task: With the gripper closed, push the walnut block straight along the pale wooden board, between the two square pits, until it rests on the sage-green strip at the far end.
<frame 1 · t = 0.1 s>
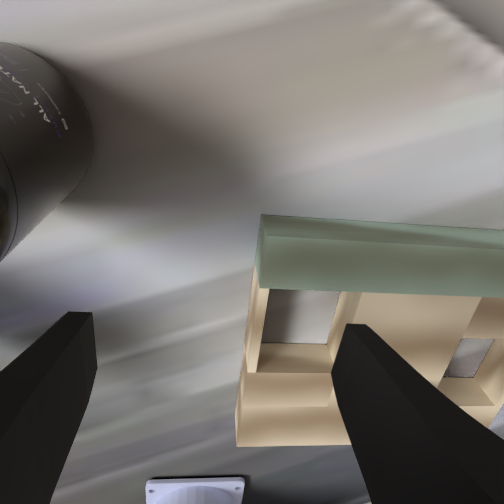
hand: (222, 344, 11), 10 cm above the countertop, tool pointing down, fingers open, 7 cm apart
trap board: (380, 333, 25), on the countertop
supplement bottle: (18, 124, 17), on the countertop
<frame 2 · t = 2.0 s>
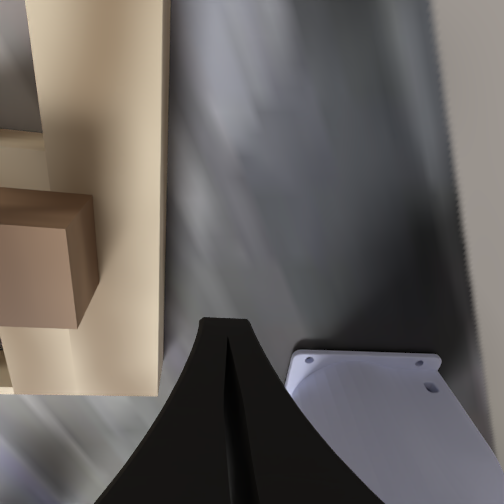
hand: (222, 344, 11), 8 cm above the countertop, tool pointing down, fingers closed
walnut block: (43, 237, 15), point 2 cm above the countertop, touching trap board
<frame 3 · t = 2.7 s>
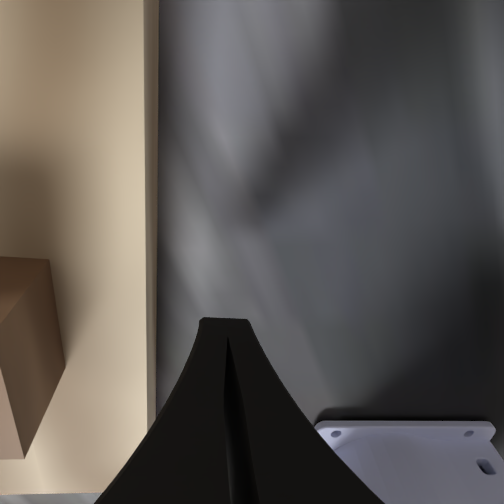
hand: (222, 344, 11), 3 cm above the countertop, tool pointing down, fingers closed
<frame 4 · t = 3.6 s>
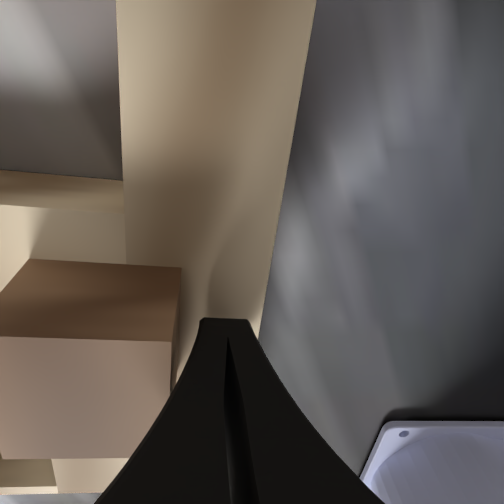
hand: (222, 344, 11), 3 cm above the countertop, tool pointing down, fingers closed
walnut block: (111, 320, 11), point 2 cm above the countertop, touching gripper, trap board
trap board: (22, 269, 13), on the countertop
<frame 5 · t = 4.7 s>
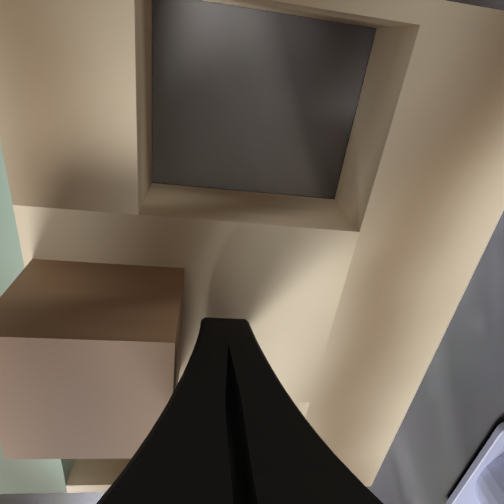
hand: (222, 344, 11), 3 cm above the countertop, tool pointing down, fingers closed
walnut block: (113, 321, 11), point 3 cm above the countertop, touching gripper
trap board: (207, 279, 14), on the countertop
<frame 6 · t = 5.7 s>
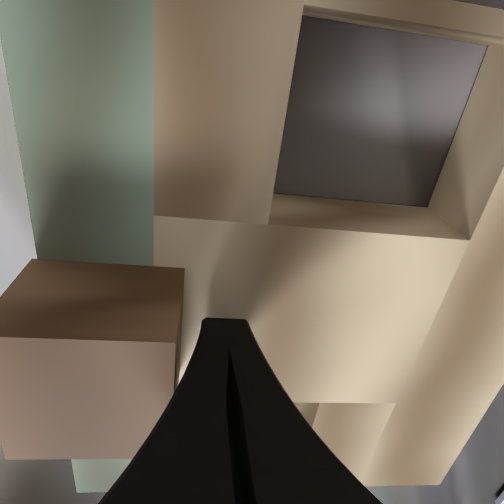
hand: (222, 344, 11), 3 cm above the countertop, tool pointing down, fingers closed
walnut block: (113, 320, 11), point 2 cm above the countertop, touching gripper, trap board
trap board: (297, 284, 14), on the countertop
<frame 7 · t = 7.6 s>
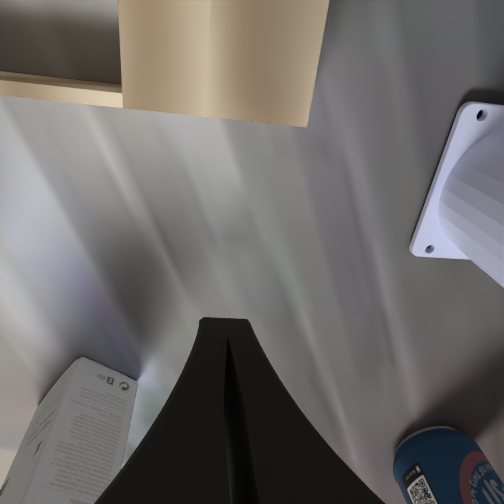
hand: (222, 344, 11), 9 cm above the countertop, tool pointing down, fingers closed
soda can: (426, 445, 31), on the countertop
skincare box: (89, 393, 25), on the countertop
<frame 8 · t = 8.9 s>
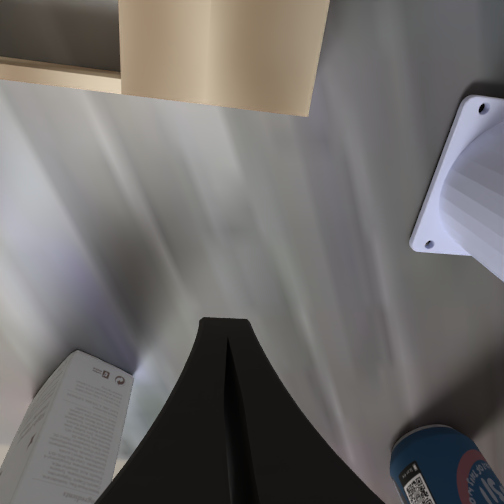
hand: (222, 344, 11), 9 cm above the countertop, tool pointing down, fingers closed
soda can: (423, 444, 31), on the countertop
skincare box: (84, 387, 24), on the countertop
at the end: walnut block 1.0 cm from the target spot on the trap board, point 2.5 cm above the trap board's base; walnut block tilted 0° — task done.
